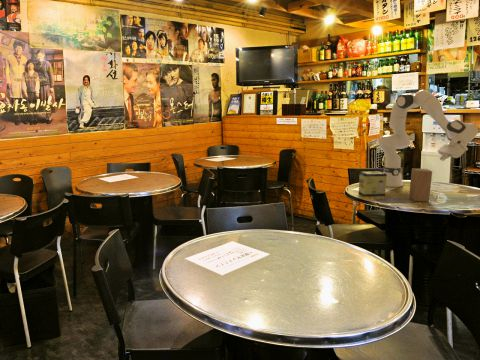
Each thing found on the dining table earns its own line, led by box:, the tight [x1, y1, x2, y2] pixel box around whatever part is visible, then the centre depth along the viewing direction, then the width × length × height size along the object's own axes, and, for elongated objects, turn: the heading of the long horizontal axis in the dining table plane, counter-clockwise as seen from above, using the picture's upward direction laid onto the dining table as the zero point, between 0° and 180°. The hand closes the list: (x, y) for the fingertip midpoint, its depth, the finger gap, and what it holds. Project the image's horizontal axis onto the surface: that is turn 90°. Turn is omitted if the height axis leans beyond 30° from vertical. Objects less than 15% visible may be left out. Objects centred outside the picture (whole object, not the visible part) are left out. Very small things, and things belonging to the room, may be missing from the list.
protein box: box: [358, 170, 387, 197], centre depth 293 cm, size 10×16×16 cm
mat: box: [373, 197, 417, 204], centre depth 277 cm, size 13×22×1 cm, turn 95°
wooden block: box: [408, 167, 433, 203], centre depth 277 cm, size 10×10×20 cm
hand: (441, 159), depth 275 cm, fingers closed
